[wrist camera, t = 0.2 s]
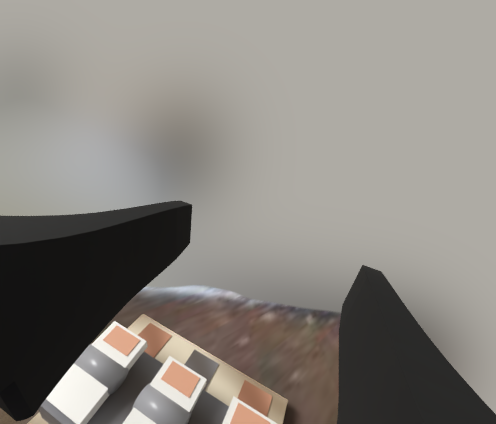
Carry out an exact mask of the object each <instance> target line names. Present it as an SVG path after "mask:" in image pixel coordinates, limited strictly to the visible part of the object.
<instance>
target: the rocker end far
mask: <svg viewBox="0 0 496 424" xmlns="http://www.w3.org/2000/svg"><path fill="white" fill-rule="evenodd" d="M147 347H148V345H147V341H145V340H144V339H142V338H141V337H139V336H138V335H136V334H134V333H133V332H131V331H130V330H128V329H126V328H125V327H123V326H122V325H120V324H118V323H117V322H115V321H114V322H113V323H112V324H111V325H110V326H109V327H108V328H107V329H106V330H105V331H104V332H103V333H102V334H101V335H100V336H99V337H98V338H97V339H96V340H95V341H94V342H93V343H92V344H90V345H89V346H88V347H87V348H86V349H85V351H84V352H83V353H82V354H81V355H80V357H79V358H78V359H77V360H76V361H75V363H74V364H73V365H72V366H71V367H70V369H69V370H68V371H67V372H66V374H65V375H64V376H63V377H62V379H61V380H60V381H59V383H58V384H57V385H56V386H55V388H54V389H53V390H52V392H51V393H50V394H49V396H48V397H47V398H46V400H48V401H49V402H50V403H51V404H52V405H54V406H55V407H56V408H57V409H59V410H60V411H61V412H62V413H63V414H65V415H66V416H67V417H68V418H70V419H71V420H72V421H73V422H74V423H76V424H87V423H88V422H89V420H90V419H91V418H92V417H93V415H94V414H95V413H96V412H97V410H98V409H99V408H100V406H101V405H102V404H103V403H104V401H105V400H106V399H107V398H108V396H109V395H110V394H113V393H114V392H115V391H116V390H117V389H118V388H119V387H120V386H121V385H122V383H123V382H124V380H125V379H126V377H127V375H128V372H129V370H130V368H131V367H132V366H133V365H134V363H135V362H136V361H137V360H138V358H139V357H140V356H141V354H142V353H143V352H144V351H145V349H146V348H147Z"/></svg>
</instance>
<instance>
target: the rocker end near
mask: <svg viewBox="0 0 496 424" xmlns="http://www.w3.org/2000/svg"><path fill="white" fill-rule="evenodd" d="M222 424H277V423H276V422H274V421H272V420H271V419H269V418H268V417H266V416H264V415H263V414H261V413H260V412H258V411H256V410H255V409H253V408H252V407H250V406H249V405H247V404H245V403H244V402H242V401H241V400H239V399H237V398H236V397H234V396H233V399H232V401H231V404H230V406H229V408H228V411H227V413H226V416H225V418H224V420H223V423H222Z"/></svg>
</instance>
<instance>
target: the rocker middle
mask: <svg viewBox="0 0 496 424" xmlns="http://www.w3.org/2000/svg"><path fill="white" fill-rule="evenodd" d="M206 381H207V379H206V378H204V377H203V376H201V375H199V374H198V373H196V372H195V371H193V370H191V369H190V368H188V367H187V366H185V365H184V364H182V363H180V362H179V361H177V360H176V359H174V358H172V357H171V356H169V357H168V359H167V360H166V361H165V363H164V364H163V366H162V367H161V369H160V370H159V372H158V373H157V374H156V376H155V377H154V379H153V380H152V382H151V383H149V384H148V385H146V386H145V388H144V389H143V390H142V391H141V393H140V394H139V396H138V397H137V399H136V401H135V402H134V405H133V407H132V411H131V412H130V414H129V415H128V416H127V418H126V419H125V421H124V422H123V424H188V422H189V419H190V417H191V414H192V410H193V408H194V406H195V404H196V402H197V400H198V398H199V396H200V394H201V393H202V391H203V389H204V387H205V385H206Z"/></svg>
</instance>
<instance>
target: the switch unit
mask: <svg viewBox="0 0 496 424" xmlns="http://www.w3.org/2000/svg"><path fill="white" fill-rule="evenodd" d="M128 330H130V331H131V332H133V333H134V334H136V335H138V336H139V337H141V338H142V339H144V340H145V341H147V345H148V347H147V348H146V349H145V351H144V352H143V353H142V354H141V356H140V357H139V358H138V360H137V361H136V362H135V363H134V365H133V366H132V367H131V368H130V370H129V372H128V375H127V377H126V379H125V380H124V382H123V383H122V385H121V386H120V387H119V388H118V389H117V390H116V391H115V392H114V393H113V394H110V395H109V396H108V398H107V399H106V400H105V401H104V403H103V404H102V405H101V406H100V408H99V409H98V410H97V412H96V413H95V414H94V415H93V417H92V418H91V419H90V420H89V422H88V423H87V424H123V422H124V421H125V419H126V418H127V416H128V415H129V414H130V412H131V411H132V407H133V405H134V402H135V401H136V399H137V397H138V396H139V394H140V393H141V391H142V390H143V389H144V388H145V386H146V385H148V384H149V383H151V382H152V380H153V379H154V377H155V376H156V374H157V373H158V372H159V370H160V369H161V367H162V366H163V364H164V363H165V361H166V360H167V359H168V357H169V356H171V357H172V358H174V359H176V360H177V361H179V362H180V363H182V364H184V365H185V366H187V367H188V368H190V369H191V370H193V371H195V372H196V373H198V374H199V375H201V376H203V377H204V378H206V379H207V381H206V385H205V387H204V389H203V391H202V393H201V394H200V396H199V398H198V400H197V402H196V404H195V406H194V408H193V410H192V414H191V417H190V419H189V422H188V424H222V423H223V420H224V418H225V416H226V413H227V411H228V408H229V406H230V404H231V401H232V399H233V396H234V397H236V398H237V399H239V400H241V401H242V402H244V403H245V404H247V405H249V406H250V407H252V408H253V409H255V410H256V411H258V412H260V413H261V414H263V415H264V416H266V417H268V418H269V419H271V420H272V421H274V422H276V423H277V424H283V419H284V415H285V410H286V406H287V401H288V400H287V399H285V398H283V397H282V396H280V395H278V394H277V393H275V392H273V391H272V390H270V389H268V388H267V387H265V386H263V385H262V384H260V383H258V382H257V381H255V380H253V379H252V378H250V377H248V376H247V375H245V374H243V373H242V372H240V371H238V370H236V369H235V368H233V367H231V366H230V365H228V364H226V363H225V362H223V361H221V360H220V359H218V358H216V357H215V356H213V355H211V354H210V353H208V352H206V351H205V350H203V349H201V348H200V347H198V346H196V345H195V344H193V343H191V342H190V341H188V340H186V339H184V338H183V337H181V336H179V335H178V334H176V333H174V332H173V331H171V330H169V329H168V328H166V327H164V326H163V325H161V324H159V323H158V322H156V321H154V320H153V319H151V318H149V317H148V316H146V315H144V314H142V315H141V316H140V317H139V318H138V319H137V320H136V321H135V322H134V323H133V324H132V325H131V326H130V327H129V328H128ZM27 424H76V423H74V422H73V421H72V420H71V419H70V418H68V417H67V416H66V415H65V414H63V413H62V412H61V411H60V410H59V409H57V408H56V407H55V406H54V405H52V404H51V403H50V402H49V401H48V400H46V399H45V401H44V402H43V403H42V405H41V406H40V407H39V413H38V414H37V415H36V416H35V417H34V418H33V419H32V420H31V421H30V422H29V423H27Z"/></svg>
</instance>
